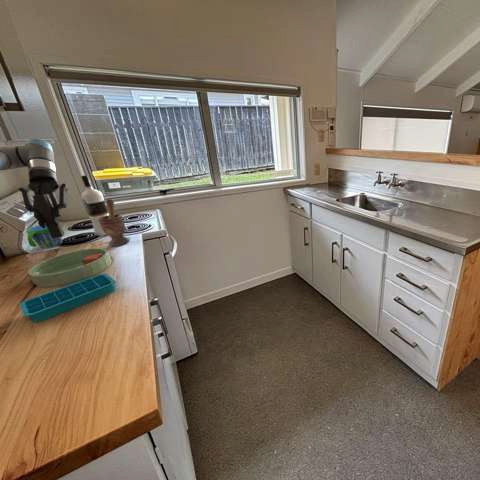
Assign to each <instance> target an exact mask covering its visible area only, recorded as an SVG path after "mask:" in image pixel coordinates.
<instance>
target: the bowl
mask: <svg viewBox="0 0 480 480" xmlns="http://www.w3.org/2000/svg"><path fill="white" fill-rule="evenodd" d="M95 254H102V257H101V258H99V259H97V260H95V261H93V262H91V263H89V264H86V265H84V264H83V262H82V260H83V259H84V258H85V257H87V256H88V255H95ZM110 255H111V254H110V253H109V251H108V249H106V248H104V247H103V248H102V247H94V248H84V249H79V250H73V251H70V252H65V253H62V254H59V255H56V256H52V257H49V258H47V259H44V260H42V261H41V262H38V263H37V264H35V265H33V266H31V267H30V268H29V269H28V270H27V275H28V276H29V278H30V280H31V281H32V283H33V285H34V286H36V287H37V288H38V287H39V288H53V287H60V286H66V285H70V284H73V283H76V282H79V281H82V280H85V279H88V278H90V277H93V276H96V275H98V274H100V273H101V272H103V271H105V270H106V269H107V268H109V267H110V266H111V265H112V263H113V261H112V258H111V256H110Z"/></svg>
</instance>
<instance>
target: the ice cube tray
mask: <svg viewBox="0 0 480 480" xmlns="http://www.w3.org/2000/svg"><path fill="white" fill-rule="evenodd" d="M116 282H117V281H116V280H115V279H114V278H112V276H110V275H109V274H108V273H107V272H103V273H98V274H95V275H93V276H90V277H88V278H85V279H82V280H79V281H76V282H73V283H70V284H67V285H64V286H62V287H60V288H56V289H54V290H51V291H48V292H45V293H42V294H39V295H36V296H34V297H31V298H28V299H25V300H23V301H21V302H20V303H19V306H20V309H21V313H22V315H23V317H24V318H30V319H31V321H32V322H33V323H39V322H42V321H45V320H48V319H50V318H52V317H54V316H57V315H59V314H62V313H65V312H67V311H69V310H72V309H74V308H77V307H79V306H81V305H84V304H87V303H89V302H92V301H94V300H97V299H100V298H102V297H104V296H106V295H109V294H112V293H114V292H115V286H114V285H115V284H116Z"/></svg>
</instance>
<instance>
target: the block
mask: <svg viewBox="0 0 480 480" xmlns="http://www.w3.org/2000/svg"><path fill="white" fill-rule="evenodd" d="M101 257H102V254H95V255H88V256H87V257H85V258H84V259H83V260H82V262H83V264H84V265H86V264H89V263H91V262H93V261H95V260H97V259H99V258H101Z"/></svg>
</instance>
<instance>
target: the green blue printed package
mask: <svg viewBox="0 0 480 480" xmlns="http://www.w3.org/2000/svg"><path fill="white" fill-rule="evenodd" d="M62 230H63V232H64V233H65V231H64V229H63V228H62ZM25 233H27V242H28V244H29V246H30V247H32V248H37V247H38V248H39V249H48V248H53V247H57V246H59V245H61V244H63V239H62V237H58V238H52V237H51V235H50V233H49V230H48V228H47V226H46V224H45V228H42V227H41V226H40V225H39V224H38V225H34V226H31V227H29V228H27V229H26V230H25Z"/></svg>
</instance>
